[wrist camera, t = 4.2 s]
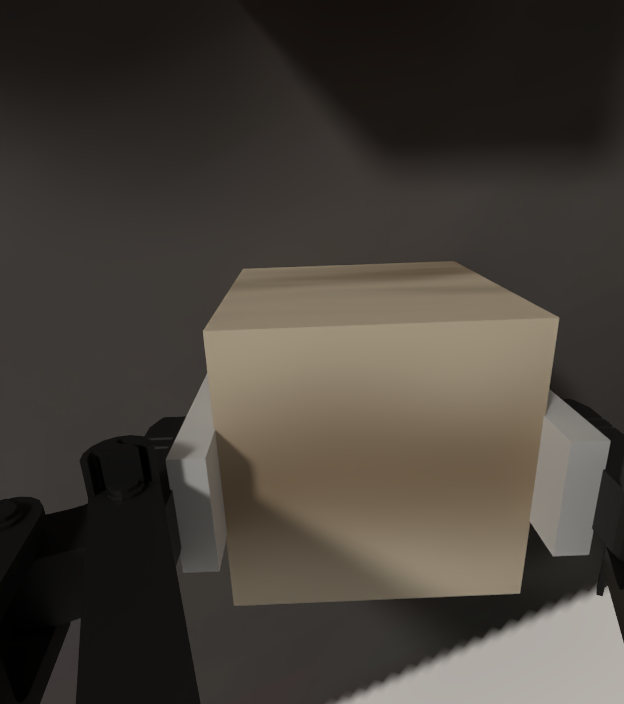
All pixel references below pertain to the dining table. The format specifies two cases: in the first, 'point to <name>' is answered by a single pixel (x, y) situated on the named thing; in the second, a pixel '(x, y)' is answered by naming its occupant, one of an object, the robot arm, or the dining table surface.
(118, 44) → the dining table surface
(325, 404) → the maple block
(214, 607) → the dining table surface
